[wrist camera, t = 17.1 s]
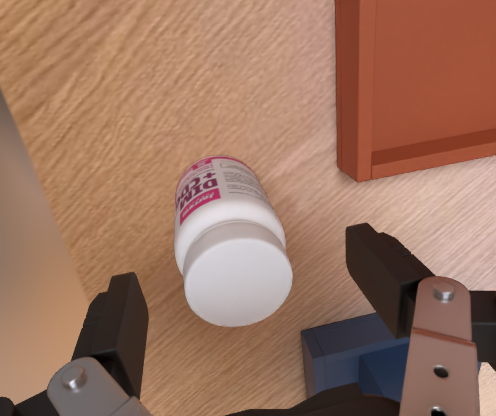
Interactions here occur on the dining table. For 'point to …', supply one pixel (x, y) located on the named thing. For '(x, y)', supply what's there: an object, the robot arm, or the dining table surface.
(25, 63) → the dining table surface
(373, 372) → the blue block
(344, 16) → the terracotta tray
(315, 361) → the blue tray
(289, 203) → the dining table surface
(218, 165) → the pill bottle
